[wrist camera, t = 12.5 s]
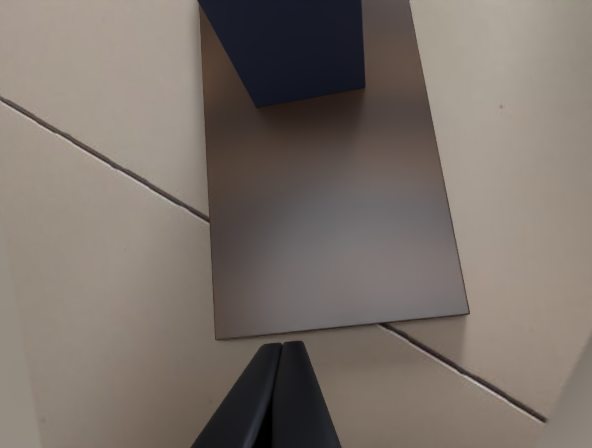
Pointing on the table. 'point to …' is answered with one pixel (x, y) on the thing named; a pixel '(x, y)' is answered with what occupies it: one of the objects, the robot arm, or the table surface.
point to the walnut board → (329, 196)
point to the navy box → (291, 46)
